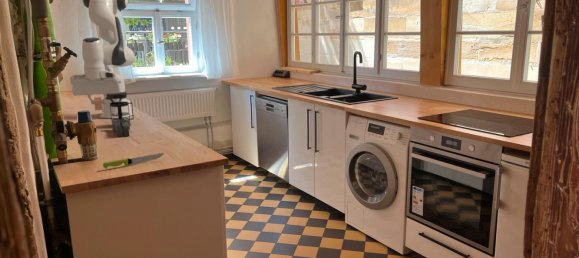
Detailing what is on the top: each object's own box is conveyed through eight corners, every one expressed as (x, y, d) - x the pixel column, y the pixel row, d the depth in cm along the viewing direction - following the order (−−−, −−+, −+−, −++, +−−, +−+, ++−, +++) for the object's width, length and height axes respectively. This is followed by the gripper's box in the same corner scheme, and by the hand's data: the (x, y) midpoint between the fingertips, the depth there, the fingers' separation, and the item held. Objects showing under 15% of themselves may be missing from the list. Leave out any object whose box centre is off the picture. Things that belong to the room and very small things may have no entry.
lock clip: (95, 106, 205) (94, 97, 204) (102, 106, 206) (101, 97, 205) (95, 110, 197) (94, 100, 196) (102, 109, 198) (101, 100, 197)
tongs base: (112, 129, 216) (111, 118, 215) (129, 127, 220) (128, 117, 218) (114, 137, 199) (113, 126, 198) (132, 135, 203) (131, 124, 201)
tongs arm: (122, 130, 214) (121, 122, 213) (127, 129, 215) (126, 121, 214) (123, 136, 201) (123, 127, 200) (129, 135, 202) (128, 127, 201)
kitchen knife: (164, 159, 166) (163, 151, 166) (165, 160, 165) (164, 152, 165) (103, 170, 154) (102, 162, 153) (104, 171, 153) (103, 163, 152)
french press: (109, 128, 219) (105, 83, 214) (110, 124, 227) (105, 81, 222) (134, 126, 223) (130, 81, 218) (133, 122, 231) (129, 80, 226)
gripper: (69, 75, 191) (73, 106, 194) (118, 73, 199) (121, 103, 202) (70, 74, 196) (73, 104, 200) (118, 72, 204) (120, 101, 208)
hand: (98, 103), depth 201 cm, fingers closed on lock clip, 3 cm apart
